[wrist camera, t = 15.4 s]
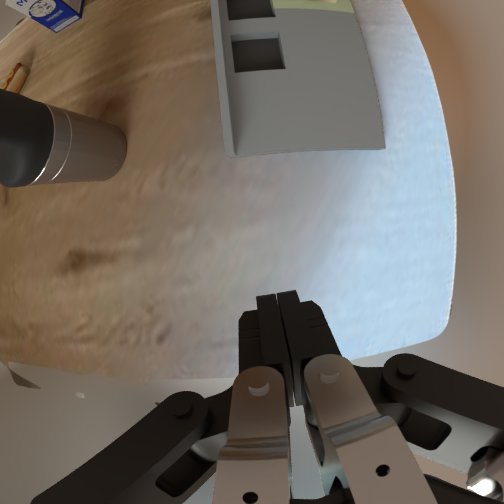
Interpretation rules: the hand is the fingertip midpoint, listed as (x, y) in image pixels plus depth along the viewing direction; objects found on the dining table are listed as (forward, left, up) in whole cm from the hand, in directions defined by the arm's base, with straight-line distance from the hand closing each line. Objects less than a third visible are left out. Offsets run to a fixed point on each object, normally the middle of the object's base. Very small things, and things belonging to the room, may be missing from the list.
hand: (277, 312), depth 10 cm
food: (-58, +17, -29) cm, 67 cm away
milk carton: (-49, +35, -29) cm, 67 cm away
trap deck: (-2, +27, -29) cm, 39 cm away
